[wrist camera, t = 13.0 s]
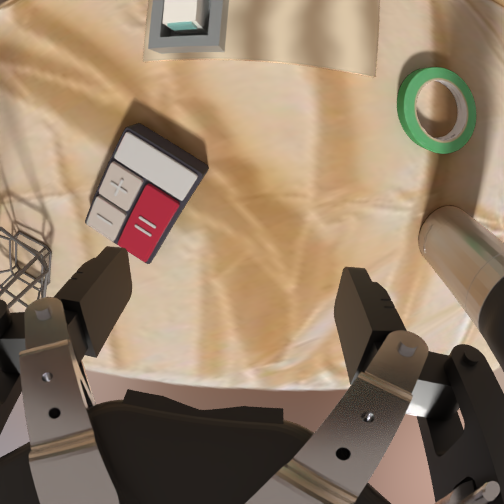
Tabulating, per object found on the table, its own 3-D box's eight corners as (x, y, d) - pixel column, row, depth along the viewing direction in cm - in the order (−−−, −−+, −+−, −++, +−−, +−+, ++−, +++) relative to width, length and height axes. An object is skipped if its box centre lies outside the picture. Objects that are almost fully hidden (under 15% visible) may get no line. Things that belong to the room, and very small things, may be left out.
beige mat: (377, -20, 25) (379, -23, 24) (372, 77, 31) (375, 77, 30) (156, -34, 25) (154, -37, 24) (145, 62, 32) (142, 61, 31)
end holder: (231, -25, 25) (227, -39, 21) (224, 52, 30) (219, 45, 26) (169, -22, 26) (157, -34, 22) (161, 53, 30) (148, 48, 26)
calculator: (81, 225, 38) (123, 126, 32) (95, 212, 42) (138, 121, 35) (147, 268, 41) (202, 176, 34) (157, 252, 44) (210, 166, 38)
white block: (210, -13, 26) (200, -31, 20) (206, 34, 28) (195, 23, 23) (182, -11, 26) (167, -28, 20) (178, 36, 28) (162, 25, 23)
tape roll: (396, 148, 35) (404, 152, 33) (393, 63, 30) (401, 61, 28) (464, 152, 35) (475, 156, 32) (464, 74, 30) (475, 74, 27)
